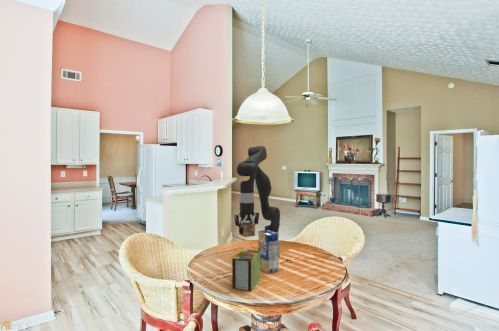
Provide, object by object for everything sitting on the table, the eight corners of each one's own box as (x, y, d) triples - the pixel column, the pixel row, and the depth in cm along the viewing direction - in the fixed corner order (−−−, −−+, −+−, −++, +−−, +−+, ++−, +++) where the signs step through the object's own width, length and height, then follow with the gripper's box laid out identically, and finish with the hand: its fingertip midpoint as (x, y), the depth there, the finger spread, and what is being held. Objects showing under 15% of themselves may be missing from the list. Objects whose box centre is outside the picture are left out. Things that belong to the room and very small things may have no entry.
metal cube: (249, 232, 150) (249, 221, 150) (254, 235, 145) (254, 224, 145) (239, 234, 147) (239, 223, 147) (244, 237, 142) (244, 225, 142)
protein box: (260, 279, 152) (260, 250, 152) (251, 291, 138) (251, 260, 138) (242, 276, 156) (242, 248, 156) (231, 288, 141) (231, 257, 141)
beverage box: (268, 274, 159) (268, 235, 159) (258, 267, 169) (258, 230, 168) (278, 271, 162) (278, 233, 162) (267, 265, 172) (268, 229, 171)
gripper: (255, 199, 153) (255, 230, 153) (231, 201, 146) (231, 233, 146) (262, 201, 146) (262, 233, 147) (238, 203, 139) (237, 237, 139)
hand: (246, 233), depth 146 cm, fingers closed on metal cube, 6 cm apart
